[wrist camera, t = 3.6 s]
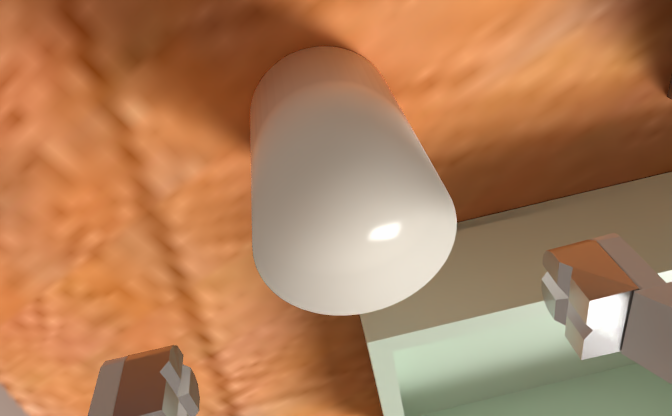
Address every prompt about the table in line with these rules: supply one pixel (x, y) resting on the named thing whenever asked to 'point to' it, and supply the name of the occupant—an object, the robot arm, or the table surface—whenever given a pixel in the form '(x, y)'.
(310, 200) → the white rounded cylinder
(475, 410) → the tote
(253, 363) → the table surface
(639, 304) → the robot arm
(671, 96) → the walnut block
